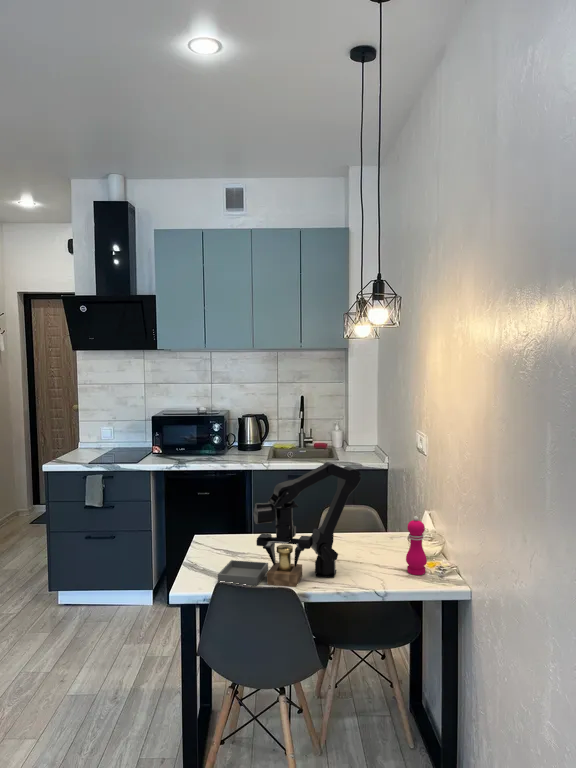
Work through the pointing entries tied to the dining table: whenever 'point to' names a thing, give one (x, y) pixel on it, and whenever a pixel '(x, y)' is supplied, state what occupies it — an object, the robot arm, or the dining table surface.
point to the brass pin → (285, 557)
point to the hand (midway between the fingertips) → (285, 565)
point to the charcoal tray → (243, 572)
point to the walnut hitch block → (284, 576)
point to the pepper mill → (416, 548)
